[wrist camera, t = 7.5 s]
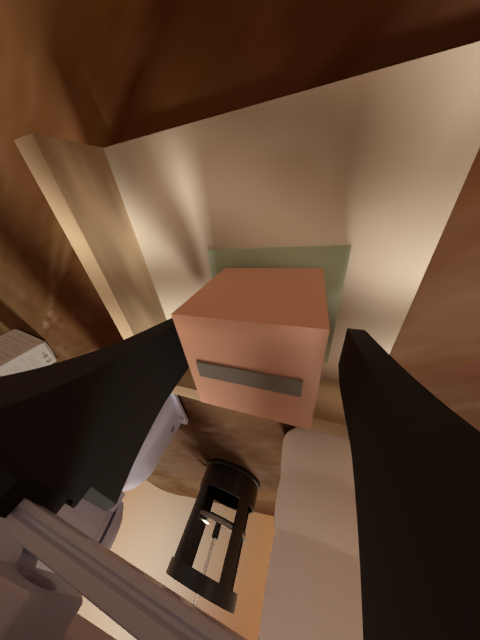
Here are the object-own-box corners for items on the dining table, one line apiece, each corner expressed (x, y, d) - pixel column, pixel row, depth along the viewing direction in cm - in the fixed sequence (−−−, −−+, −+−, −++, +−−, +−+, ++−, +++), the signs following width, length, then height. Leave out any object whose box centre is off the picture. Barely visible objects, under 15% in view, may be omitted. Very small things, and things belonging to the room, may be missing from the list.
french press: (234, 457, 28) (83, 948, 10) (275, 490, 30) (213, 951, 12) (193, 460, 35) (61, 751, 17) (228, 486, 37) (145, 773, 19)
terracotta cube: (323, 268, 9) (329, 332, 5) (311, 348, 12) (309, 432, 8) (225, 267, 10) (169, 315, 6) (235, 338, 13) (200, 403, 9)
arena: (366, 389, 13) (381, 447, 10) (177, 355, 18) (150, 387, 15) (506, 45, 5) (755, -145, 2) (100, 154, 10) (14, 140, 7)
